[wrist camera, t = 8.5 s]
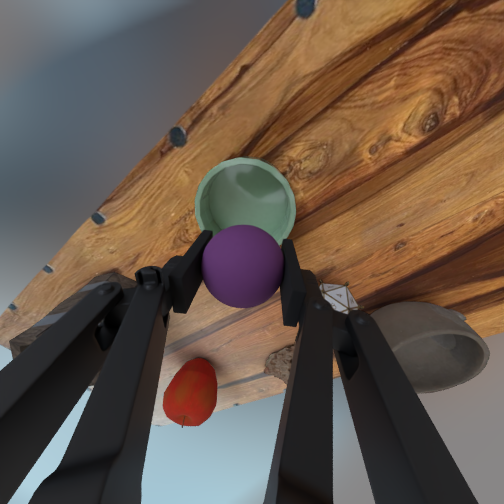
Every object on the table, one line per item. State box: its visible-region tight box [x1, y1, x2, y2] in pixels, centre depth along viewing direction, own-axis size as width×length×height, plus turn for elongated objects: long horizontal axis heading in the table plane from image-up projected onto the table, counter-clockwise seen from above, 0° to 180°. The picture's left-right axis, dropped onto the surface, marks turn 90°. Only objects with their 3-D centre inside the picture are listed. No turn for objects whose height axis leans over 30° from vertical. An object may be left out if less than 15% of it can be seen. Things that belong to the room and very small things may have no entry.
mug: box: [9, 272, 138, 386], centre depth 36 cm, size 20×14×15 cm
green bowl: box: [195, 156, 296, 246], centre depth 27 cm, size 13×13×6 cm
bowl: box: [370, 302, 490, 394], centre depth 35 cm, size 17×18×10 cm
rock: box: [264, 345, 295, 384], centre depth 47 cm, size 14×13×4 cm
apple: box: [163, 358, 218, 428], centre depth 46 cm, size 12×12×14 cm
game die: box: [319, 280, 365, 314], centre depth 33 cm, size 9×8×10 cm
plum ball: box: [201, 224, 284, 308], centre depth 14 cm, size 6×6×6 cm
